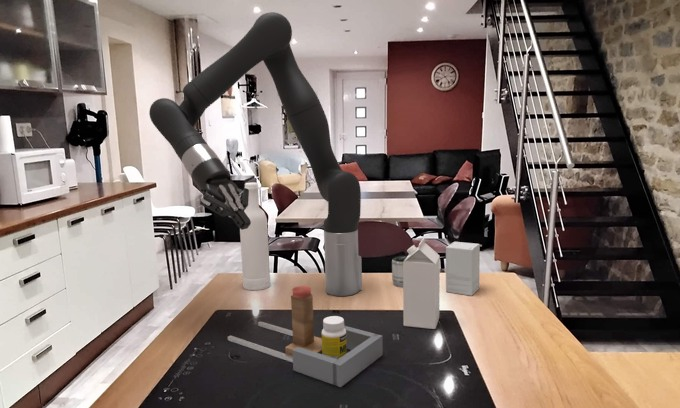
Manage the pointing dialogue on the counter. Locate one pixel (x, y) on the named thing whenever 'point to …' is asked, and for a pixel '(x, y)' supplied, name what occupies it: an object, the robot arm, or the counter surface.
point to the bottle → (255, 244)
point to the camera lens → (398, 270)
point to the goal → (344, 368)
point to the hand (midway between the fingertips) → (246, 226)
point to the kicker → (303, 322)
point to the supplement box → (462, 268)
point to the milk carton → (421, 287)
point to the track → (262, 348)
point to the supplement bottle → (334, 337)
